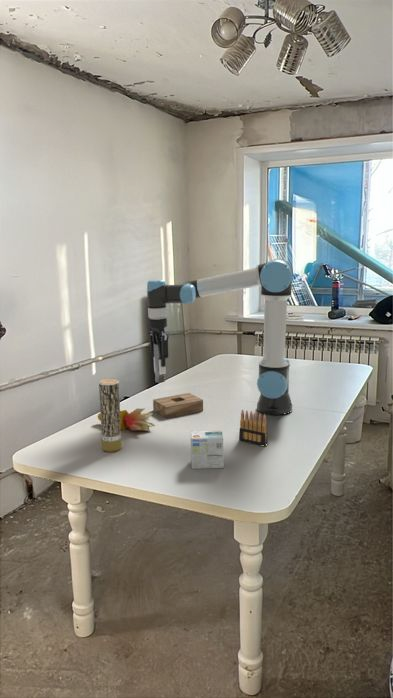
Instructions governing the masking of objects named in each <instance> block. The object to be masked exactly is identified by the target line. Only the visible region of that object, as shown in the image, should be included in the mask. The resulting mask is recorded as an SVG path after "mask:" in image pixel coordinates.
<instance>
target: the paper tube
mask: <svg viewBox="0 0 393 698" xmlns="http://www.w3.org/2000/svg"><path fill="white" fill-rule="evenodd" d="M119 384H120V381H119V379H116V378H104V379H100V380H99V381H98V391H99V393H98V394H99V411H100V413H99V414H101V421H100V430H101V433H100V435H101V448H102V450H103V451H104V452H108V453H111V452H112V453H113V452H117V451H120V450H121V448H122V429H121V423H120V411H121V403H120V401H121V400H120V385H119Z"/></svg>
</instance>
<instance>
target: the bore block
mask: <svg viewBox="0 0 393 698" xmlns="http://www.w3.org/2000/svg"><path fill="white" fill-rule="evenodd" d="M152 407H153V411H154V412H155V413H157V414H158V415H160V416H162V417H163V418H165V419H170V418H175V417H180V416H183V415H189V414H195V413H199V412H203V411H204V399H202V398H200V397H199V396H196V395H194V394H192V393H190V392H187V393H181V394H175V395H169V396H164V397H159V398H153V399H152Z"/></svg>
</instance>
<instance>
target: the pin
mask: <svg viewBox="0 0 393 698" xmlns="http://www.w3.org/2000/svg"><path fill="white" fill-rule="evenodd" d="M158 358H160V356H159V349H158V343H157V344H154V357H153V360H154V359H155V372H154V375H155V383H164V382H166V374H162V375H160V374H159V359H158Z"/></svg>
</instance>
